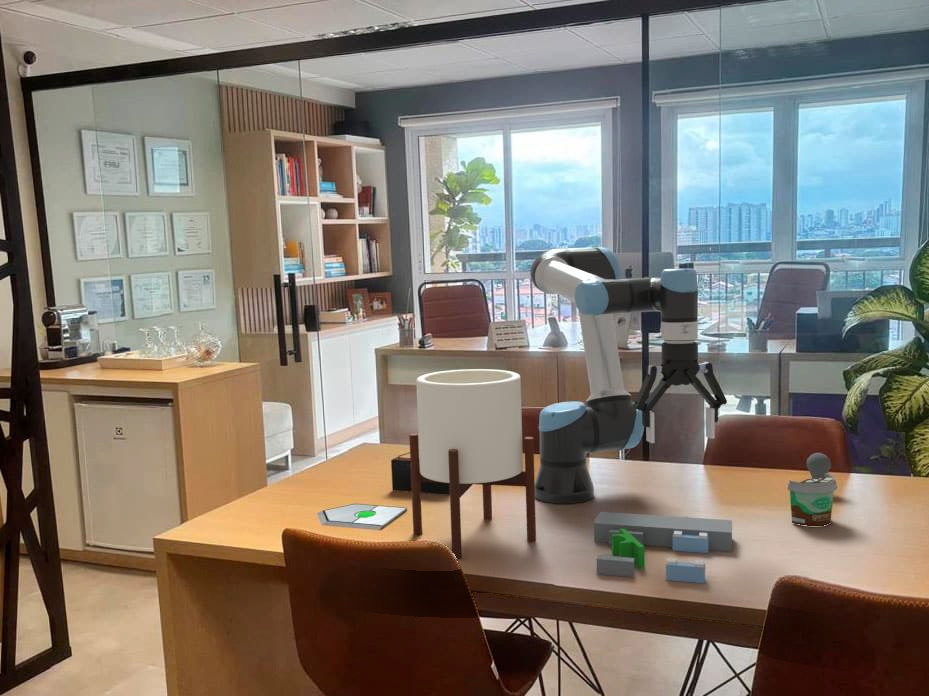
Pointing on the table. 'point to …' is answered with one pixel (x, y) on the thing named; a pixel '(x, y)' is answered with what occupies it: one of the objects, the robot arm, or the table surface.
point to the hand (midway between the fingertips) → (680, 439)
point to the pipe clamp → (628, 547)
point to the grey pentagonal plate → (360, 516)
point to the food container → (812, 500)
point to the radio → (403, 478)
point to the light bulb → (818, 465)
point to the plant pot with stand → (470, 441)
